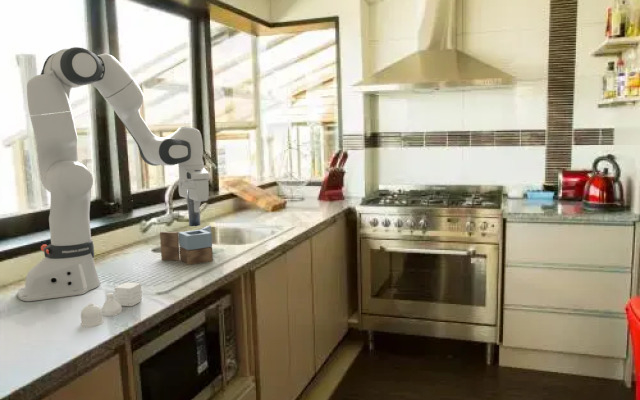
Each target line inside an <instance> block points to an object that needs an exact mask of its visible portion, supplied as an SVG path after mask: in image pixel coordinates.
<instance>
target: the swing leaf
mask: <svg viewBox="0 0 640 400" xmlns="http://www.w3.org/2000/svg"><path fill="white" fill-rule="evenodd" d="M212 236H213V235H212V227H211V225H207V226H205V227H203V228H200V229H195V230H186V231H178V238H179V247H180V246H181V247H183V248H185V249H187V250H193V249H200V248H206V247H212V248H213V239H212Z"/></svg>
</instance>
